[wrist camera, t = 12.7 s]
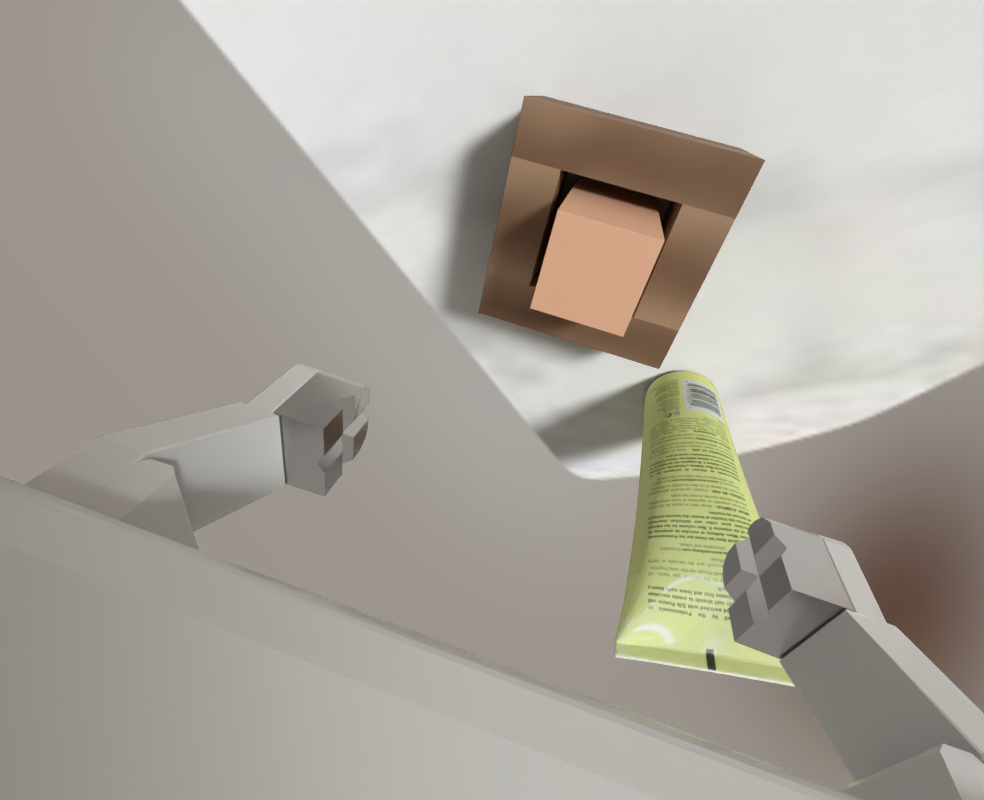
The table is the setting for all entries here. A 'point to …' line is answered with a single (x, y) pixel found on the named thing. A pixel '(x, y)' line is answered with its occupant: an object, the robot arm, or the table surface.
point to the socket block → (625, 166)
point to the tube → (688, 537)
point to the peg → (599, 256)
